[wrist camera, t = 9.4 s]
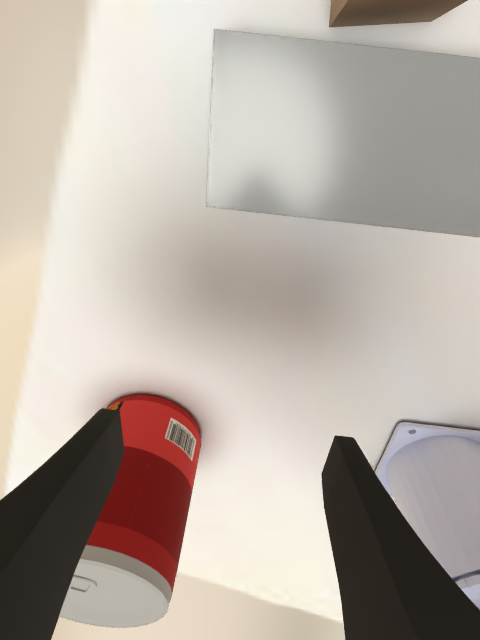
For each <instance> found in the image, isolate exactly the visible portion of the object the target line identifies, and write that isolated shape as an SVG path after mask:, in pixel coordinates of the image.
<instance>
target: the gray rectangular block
mask: <svg viewBox="0 0 480 640" xmlns="http://www.w3.org/2000/svg"><path fill="white" fill-rule="evenodd" d="M206 207H213V208H222V209H231V210H240V211H249V212H258V213H267V214H276V215H285V216H294V217H303V218H312V219H321V220H329V221H338V222H347V223H356V224H365V225H374V226H383V227H392V228H401V229H410V230H419V231H428V232H437V233H445V234H454V235H463V236H472V237H480V58H476V57H467V56H457V55H448V54H439V53H430V52H421V51H412V50H402V49H393V48H384V47H375V46H366V45H357V44H347V43H338V42H329V41H320V40H311V39H301V38H292V37H283V36H274V35H265V34H256V33H246V32H237V31H228V30H219V29H214V40H213V64H212V87H211V110H210V133H209V157H208V180H207V203H206Z"/></svg>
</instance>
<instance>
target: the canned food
mask: <svg viewBox="0 0 480 640" xmlns="http://www.w3.org/2000/svg"><path fill="white" fill-rule="evenodd" d="M107 409H111V410H119V411H120V416H121V425H122V433H123V442H124V450H125V452H124V455H123V458H122V461H121V464H120V467H119V470H118V473H117V476H116V479H115V482H114V484H113V487H112V489H111V491H110V493H109V496H108V498H107V500H106V502H105V505H104V507H103V509H102V511H101V513H100V515H99V518H98V520H97V522H96V524H95V526H94V529H93V531H92V533H91V535H90V537H89V540H88V542H87V544H86V546H85V548H84V551H83V553H82V555H81V558H80V560H79V562H78V565H77V567H76V570H75V572H74V575H73V578H72V581H71V584H70V586H69V589H68V592H67V595H66V598H65V600H64V603H63V606H62V609H61V612H60V615H59V617H62V618H66V619H69V620H72V621H75V622H80V623H84V624H89V625H94V626H101V627H112V628H128V627H138V626H143V625H147V624H150V623H153V622H156V621H158V620H159V619H161V618H162V617H163V616H164V615H165V614H166V613H167V610H168V606H169V603H170V600H171V597H172V592H173V586H174V582H175V577H176V573H177V568H178V563H179V558H180V553H181V547H182V542H183V537H184V532H185V526H186V521H187V516H188V511H189V505H190V500H191V495H192V489H193V484H194V479H195V474H196V468H197V463H198V458H199V453H200V447H201V440H200V433H199V428H198V426H197V423H196V422H195V420H194V419H193V417H192V416H191V415H190V414H189V413H188V412H187V411H186V410H185V409H183V408H182V407H181V406H179V405H177V404H175V403H174V402H172V401H169V400H167V399H164V398H161V397H157V396H152V395H130V396H126V397H123V398H121V399H118V400H116V401H115V402H114V403H112V404H111V405H110V406H109V407H108V408H107Z"/></svg>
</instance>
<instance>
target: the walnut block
mask: <svg viewBox="0 0 480 640" xmlns="http://www.w3.org/2000/svg"><path fill="white" fill-rule="evenodd" d="M465 1H467V0H331V10H330V23H329V27H343V26H361V25H379V24H397V23H415V22H431V21H433V20H435V19H436V18H438V17H440V16H441V15H443V14H445V13H447V12H448V11H450V10H452V9H453V8H455V7H457V6H459V5H460V4H462V3H464V2H465Z"/></svg>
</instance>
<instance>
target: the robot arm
mask: <svg viewBox="0 0 480 640" xmlns="http://www.w3.org/2000/svg"><path fill="white" fill-rule="evenodd" d="M411 429H412V430H411ZM124 452H125V450H124V442H123V433H122V425H121V416H120V411H119V410H111V409H100V410H99V411H98V412H97V413H96V414H95V415H94V416H93V417H92V418H91V419H90V420H89V421H88V422H87V423H86V424H85V425H84V426H83V427H82V428H81V429H80V430H79V431H78V432H77V433H76V434H75V435H74V436H73V437H72V438H71V439H70V440H69V441H68V442H67V443H66V444H64V445H63V446H62V447H61V448H60V449H59V450H58V451H57V452H56V453H55V454H54V455H53V456H52V457H51V458H49V459H48V460H47V461H46V462H45V463H44V464H43V465H42V466H41V467H39V468H38V469H37V470H36V471H35V472H34V473H33V474H31V475H30V476H29V477H28V478H27V479H26V480H24V481H23V482H22V483H21V484H20V485H19V486H17V487H16V488H15V489H14V490H13V491H11V492H10V493H9V494H8V495H6V496H5V497H4V498H3V499H1V500H0V640H51V638H52V635H53V632H54V629H55V626H56V623H57V620H58V618H59V615H60V612H61V609H62V606H63V603H64V600H65V598H66V595H67V592H68V589H69V586H70V584H71V581H72V578H73V575H74V572H75V570H76V567H77V565H78V562H79V560H80V558H81V555H82V553H83V551H84V548H85V546H86V544H87V542H88V540H89V537H90V535H91V533H92V531H93V529H94V526H95V524H96V522H97V520H98V518H99V515H100V513H101V511H102V509H103V507H104V505H105V502H106V500H107V498H108V496H109V493H110V491H111V489H112V487H113V484H114V482H115V479H116V476H117V473H118V470H119V467H120V464H121V461H122V458H123V455H124ZM322 488H323V500H324V509H325V514H326V520H327V525H328V530H329V536H330V541H331V546H332V551H333V556H334V562H335V567H336V572H337V577H338V583H339V589H340V595H341V602H342V611H343V621H344V630H345V639H346V640H480V431H477V430H469V429H460V428H451V427H443V426H434V425H425V424H417V423H408V422H402V423H399V424H398V425H397V426H396V428H395V431H394V433H393V435H392V437H391V439H390V441H389V443H388V445H387V448H386V450H385V452H384V454H383V456H382V458H381V460H380V462H379V464H378V467H377V469H376V471H375V472H374V470H373V469H372V467H371V465H370V464H369V462H368V460H367V459H366V457H365V455H364V454H363V452H362V450H361V449H360V447H359V445H358V444H357V442H356V440H355V439H354V438H353V437H344V436H335V437H334V440H333V443H332V445H331V448H330V451H329V454H328V457H327V460H326V463H325V466H324V469H323V471H322ZM390 495H392V496H394V499H395V502H396V504H395V503H394V501H393V500H392V498H391V497H390ZM396 505H397V506H396Z"/></svg>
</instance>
